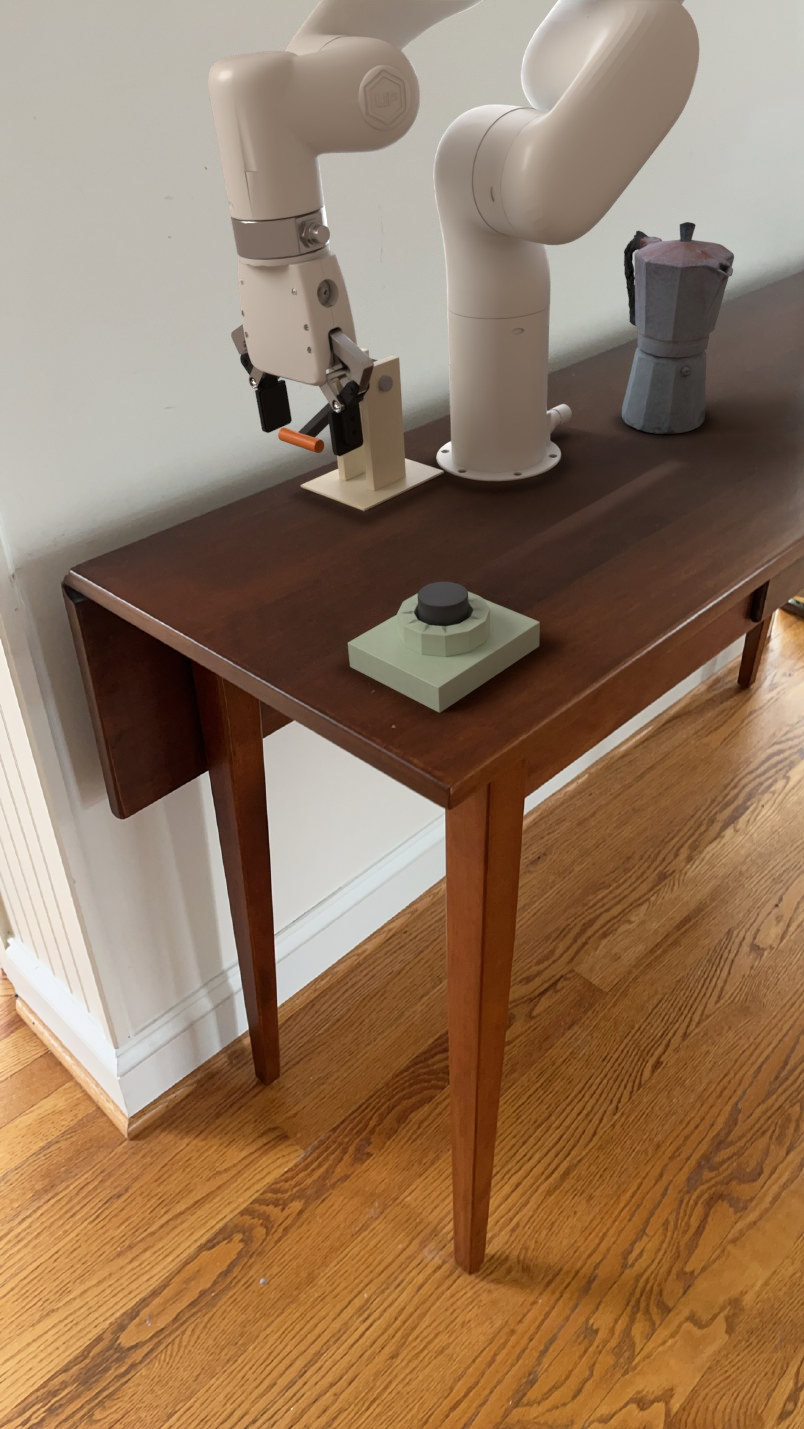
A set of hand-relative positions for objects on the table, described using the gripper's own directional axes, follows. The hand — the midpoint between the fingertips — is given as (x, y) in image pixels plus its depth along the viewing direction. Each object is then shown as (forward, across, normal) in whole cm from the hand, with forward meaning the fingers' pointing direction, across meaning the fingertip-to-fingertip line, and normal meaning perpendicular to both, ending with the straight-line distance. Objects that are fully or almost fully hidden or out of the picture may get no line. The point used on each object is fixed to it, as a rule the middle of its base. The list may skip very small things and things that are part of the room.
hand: (312, 438), depth 92 cm
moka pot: (+9, -12, -39) cm, 42 cm away
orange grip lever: (-1, 0, -4) cm, 4 cm away
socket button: (+4, -26, +11) cm, 28 cm away
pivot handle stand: (+8, 0, -7) cm, 10 cm away
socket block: (+7, -26, +11) cm, 29 cm away
